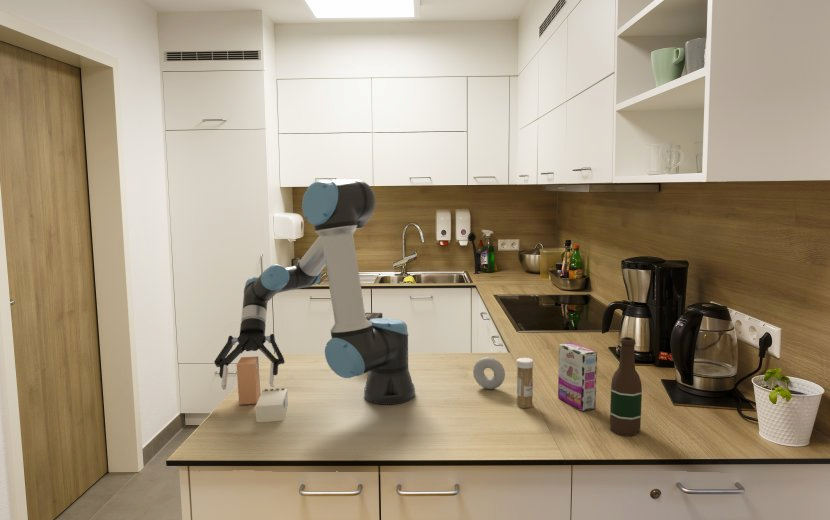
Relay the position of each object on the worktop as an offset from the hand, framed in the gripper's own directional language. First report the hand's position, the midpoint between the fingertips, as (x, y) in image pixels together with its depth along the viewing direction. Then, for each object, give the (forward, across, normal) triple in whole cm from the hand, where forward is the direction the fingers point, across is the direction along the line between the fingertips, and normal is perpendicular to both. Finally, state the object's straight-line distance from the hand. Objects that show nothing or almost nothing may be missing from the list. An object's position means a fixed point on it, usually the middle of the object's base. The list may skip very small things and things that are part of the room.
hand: (247, 386), depth 171 cm
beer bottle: (+27, -99, +19) cm, 105 cm away
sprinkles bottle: (+13, -79, +6) cm, 80 cm away
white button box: (+9, -8, +2) cm, 12 cm away
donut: (+3, -72, -4) cm, 72 cm away
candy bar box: (+14, -94, +6) cm, 95 cm away
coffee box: (-21, -37, -29) cm, 52 cm away
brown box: (+2, 0, -5) cm, 6 cm away
